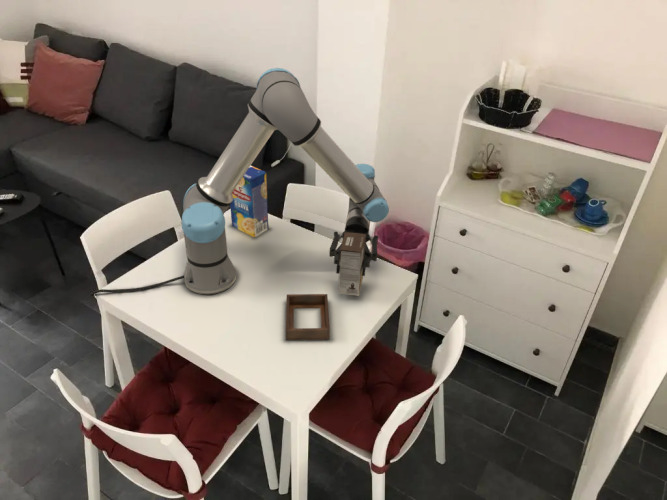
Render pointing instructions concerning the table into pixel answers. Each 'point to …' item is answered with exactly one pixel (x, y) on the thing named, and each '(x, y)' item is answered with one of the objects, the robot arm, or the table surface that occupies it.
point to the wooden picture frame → (307, 302)
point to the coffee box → (351, 263)
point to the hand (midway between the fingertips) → (350, 270)
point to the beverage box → (250, 203)
